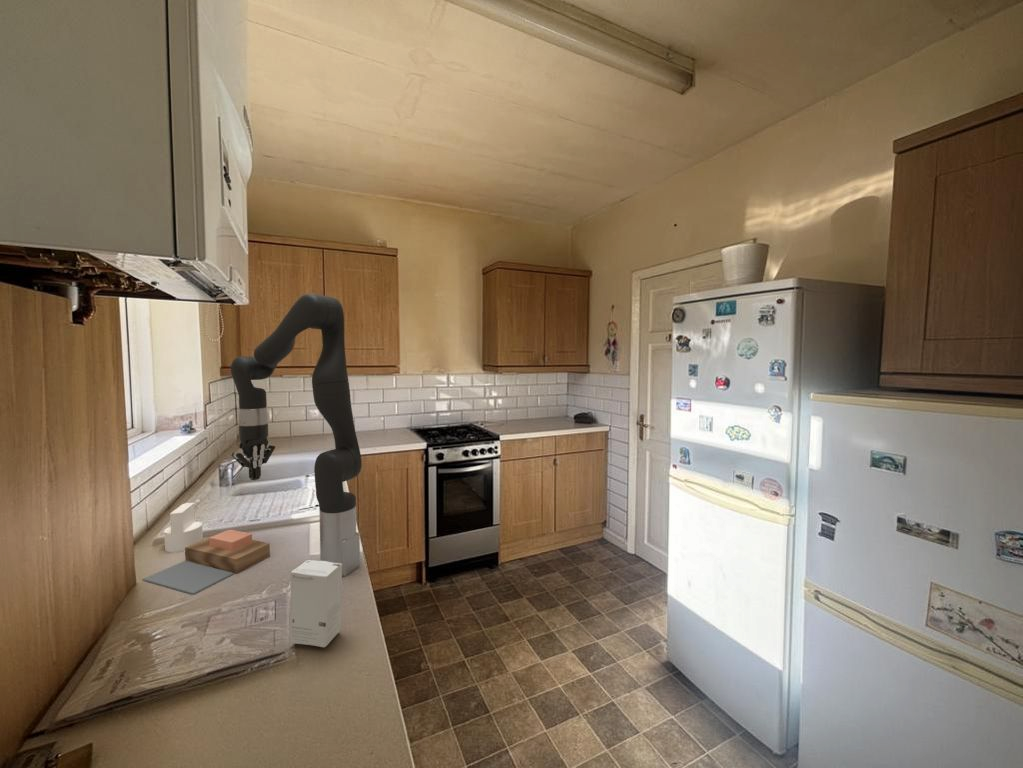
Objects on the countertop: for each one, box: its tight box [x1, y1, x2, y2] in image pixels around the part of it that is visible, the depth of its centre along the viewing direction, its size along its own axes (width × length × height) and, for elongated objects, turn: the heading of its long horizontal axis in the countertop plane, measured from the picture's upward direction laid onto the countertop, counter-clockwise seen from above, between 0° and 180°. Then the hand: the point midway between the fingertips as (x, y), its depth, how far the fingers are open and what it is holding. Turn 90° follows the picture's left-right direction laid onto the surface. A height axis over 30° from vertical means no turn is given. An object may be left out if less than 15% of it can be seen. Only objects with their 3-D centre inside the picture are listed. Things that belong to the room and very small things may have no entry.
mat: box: [142, 560, 234, 596], centre depth 106 cm, size 19×10×1 cm, turn 71°
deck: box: [184, 537, 271, 575], centre depth 116 cm, size 20×10×4 cm, turn 71°
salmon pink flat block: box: [208, 529, 253, 551], centre depth 117 cm, size 9×6×2 cm, turn 71°
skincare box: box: [288, 559, 343, 648], centre depth 84 cm, size 8×6×15 cm
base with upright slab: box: [163, 502, 204, 553], centre depth 123 cm, size 9×9×12 cm
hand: (255, 479), depth 124 cm, fingers closed
